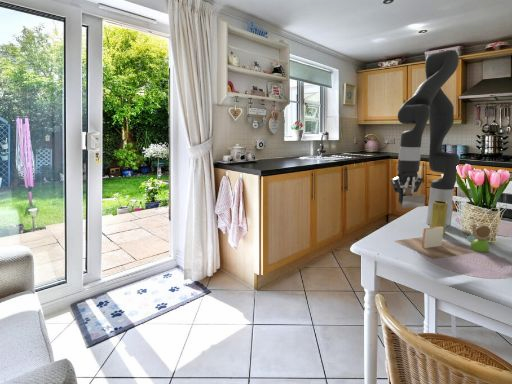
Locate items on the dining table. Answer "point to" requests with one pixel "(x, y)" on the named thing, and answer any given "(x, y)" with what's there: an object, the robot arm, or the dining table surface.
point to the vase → (439, 214)
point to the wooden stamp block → (412, 199)
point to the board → (433, 248)
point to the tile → (432, 237)
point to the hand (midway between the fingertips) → (404, 203)
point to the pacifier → (471, 238)
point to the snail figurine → (480, 238)
